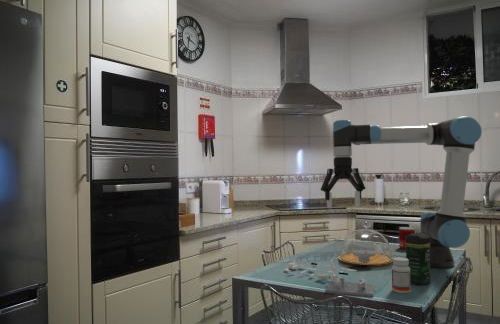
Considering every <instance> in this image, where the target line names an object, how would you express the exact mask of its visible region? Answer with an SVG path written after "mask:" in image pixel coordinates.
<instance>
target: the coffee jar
mask: <svg viewBox="0 0 500 324" xmlns="http://www.w3.org/2000/svg"><path fill="white" fill-rule="evenodd" d="M405 245H406V250H405V258H407V259H408V260H409V265H407V266H409V267H410V282H411V284H412V285H426V284H428V283H430V281H431V279H432V278H431V276H432V275H431V267H430V237H429V236H428V235H427V234H426V233H421V232H415V233H414V234H410V235H408V236H406V239H405Z"/></svg>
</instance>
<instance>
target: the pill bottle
mask: <svg viewBox="0 0 500 324" xmlns="http://www.w3.org/2000/svg"><path fill="white" fill-rule="evenodd" d="M392 264H393V265H392V267H391V290H392V291H393V292H395V293H397V294H408V293H411V292H412V291H411V289H412V288H411V282H410V267H409V266H407V265H409V260H408V259H407V258H406V257H401V256H400V257H399V256H398V257H393V259H392Z"/></svg>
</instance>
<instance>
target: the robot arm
mask: <svg viewBox="0 0 500 324" xmlns="http://www.w3.org/2000/svg"><path fill="white" fill-rule="evenodd" d="M332 124H333V125H332V140H333V142H332V144H333V168H327V169H326V170H327V171H326V175H325V177H324V179H323V183H322V185H321V188H320V191H322V192H324V198H325V201H326V208H327V209H333V200H332V199H333V196H332V192H331V191H332V189H333V188H334V186H335V185H336V184H337V182H338V181H339V180H348V181H349V183H350V184H351V185H352V186H353V188H354V189H355V190H354V206H355V207H356V208H360V207H361V199H362V192H363V191H364V190H366V186H365V183H364V182H363V180H362V179H363V178H362V177H361V174H360V173H359V168H358V167H353V168H352V166H353V159H352V155H353V149H352V147H353V146H352V145H354V146H360V145H381V144H382V145H384V144H388V145H389V144H423V143H424V144H426V145H428V146H442V148H443V150H444V151H445V152H446V154H445V164H444V173H443V180H442V190H441V199H440V205H439V206H440V207H439V208H438V209H437V210H436V211H435V212H423V213H421V214H420V219H419V222H420V233H426V234H427V235H428V236H429V237H430V268H439V269H440V268H441V269H442V268H444V269H445V268H451V267H454V266H455V259H454V257H453V254H452V250H451V249H450V248H452V249H457V248H461V247H463V246H464V245H465V244H467V242H468V240H469V239H470V237H471V230H470V228H469V226H468V224H467V215H466V213H465V212H464V207H465V206H464V205H465V196H466V188H467V179H468V171H469V170H468V169H469V163H470V161H469V160H470V154H472V153H473V152H474V151H475V147H476V146H475V145H476V143H477V142H478V141H479V140H480V138H481V137H482V127H481V123H480V122H479V121H477V119H476V118H473V117H471V116H466V115H465V116H457V117H455V118H451V119H448V120H444V121H440V122H433V123H426V125H425V126H424V125H420V126H419V125H416V126H413V125H412V126H381V127H380V125H379V124H352V121H351V120H349V119H340V120H339V119H337V120H335V121H334V122H333V123H332ZM333 174H334V175H333Z"/></svg>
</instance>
